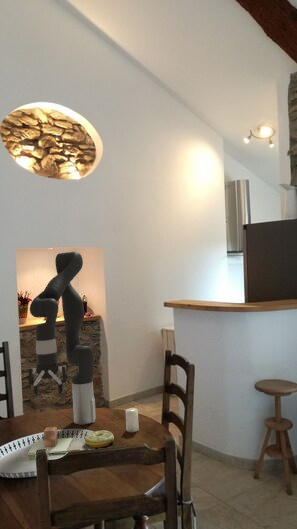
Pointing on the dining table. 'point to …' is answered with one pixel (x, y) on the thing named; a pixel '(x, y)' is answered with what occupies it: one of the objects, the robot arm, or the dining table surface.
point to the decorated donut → (99, 439)
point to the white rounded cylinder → (132, 420)
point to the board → (61, 446)
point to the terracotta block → (50, 437)
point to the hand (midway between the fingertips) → (48, 394)
